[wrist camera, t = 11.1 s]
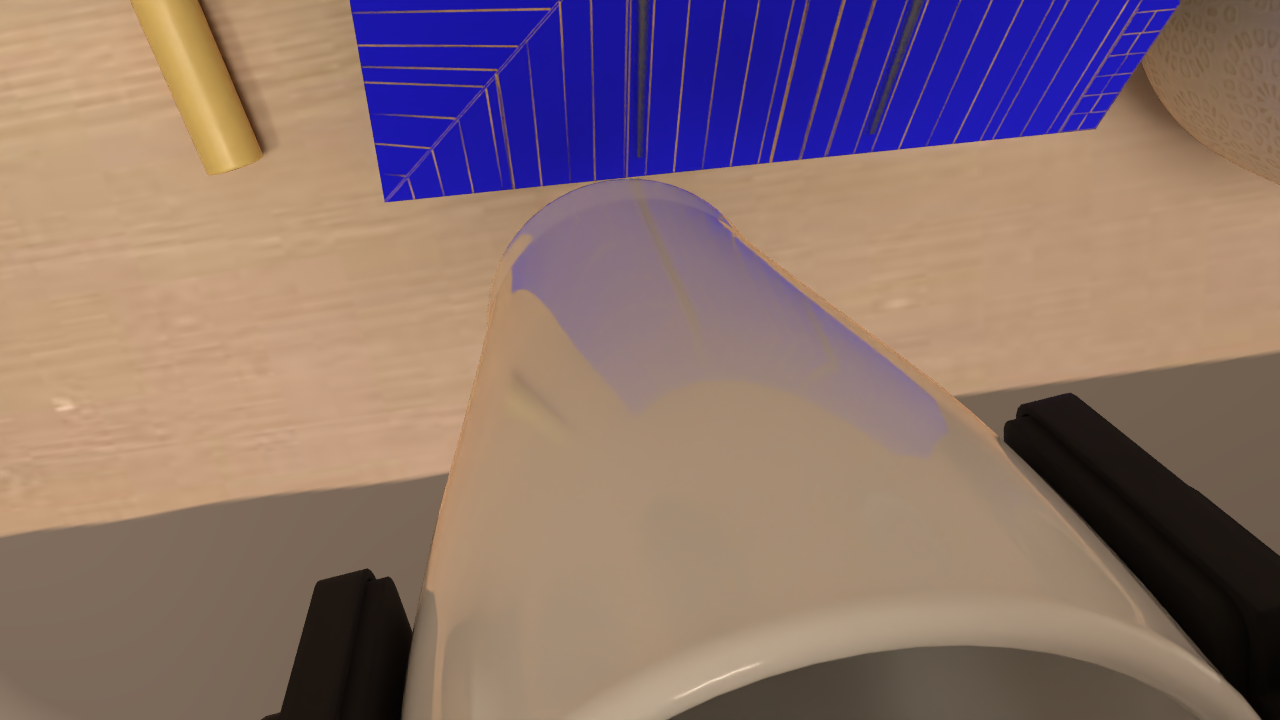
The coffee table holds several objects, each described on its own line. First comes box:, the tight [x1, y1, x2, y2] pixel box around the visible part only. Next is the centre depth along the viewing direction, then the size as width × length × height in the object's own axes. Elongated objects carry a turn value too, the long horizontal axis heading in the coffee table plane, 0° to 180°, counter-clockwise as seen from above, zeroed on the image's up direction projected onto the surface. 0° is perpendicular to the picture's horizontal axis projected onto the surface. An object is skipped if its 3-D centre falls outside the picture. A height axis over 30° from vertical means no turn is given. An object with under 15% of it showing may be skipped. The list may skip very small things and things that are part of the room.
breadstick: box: [130, 0, 263, 175], centre depth 39 cm, size 12×2×2 cm, turn 15°
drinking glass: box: [401, 179, 1262, 720], centre depth 14 cm, size 7×7×15 cm
